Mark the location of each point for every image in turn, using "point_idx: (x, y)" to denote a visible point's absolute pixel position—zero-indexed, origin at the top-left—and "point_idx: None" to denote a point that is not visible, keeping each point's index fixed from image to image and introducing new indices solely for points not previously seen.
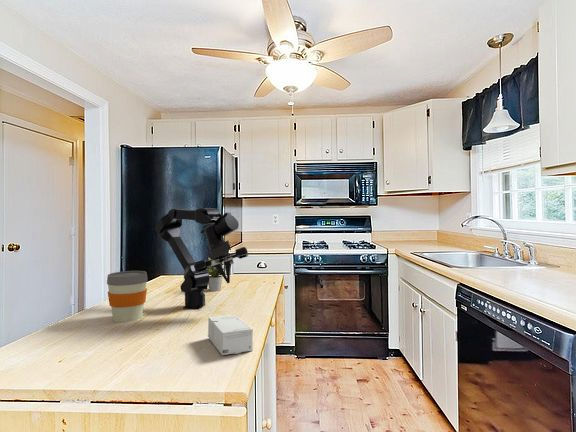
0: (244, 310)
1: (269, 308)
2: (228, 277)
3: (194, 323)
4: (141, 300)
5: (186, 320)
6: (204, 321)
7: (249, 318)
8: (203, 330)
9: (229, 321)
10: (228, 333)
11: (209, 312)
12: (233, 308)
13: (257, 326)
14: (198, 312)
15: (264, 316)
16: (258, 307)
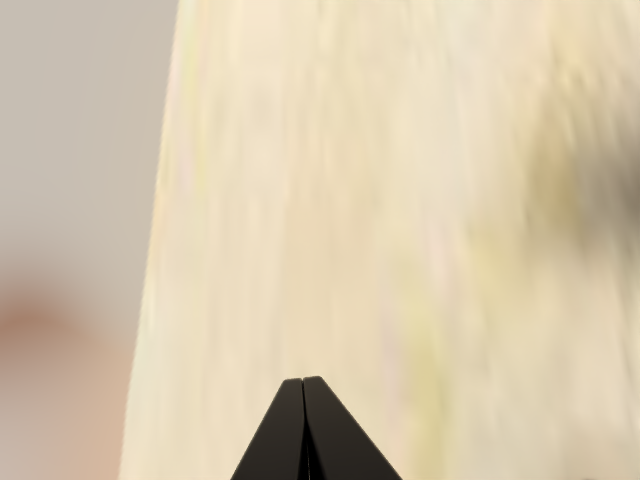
0: (263, 384)
1: (133, 394)
2: (274, 435)
3: (553, 152)
4: None
5: (624, 222)
6: (491, 188)
7: (236, 219)
8: (474, 21)
9: None
10: None
11: (482, 385)
12: None
13: (200, 82)
14: (565, 402)
15: (163, 246)
16: (187, 430)
